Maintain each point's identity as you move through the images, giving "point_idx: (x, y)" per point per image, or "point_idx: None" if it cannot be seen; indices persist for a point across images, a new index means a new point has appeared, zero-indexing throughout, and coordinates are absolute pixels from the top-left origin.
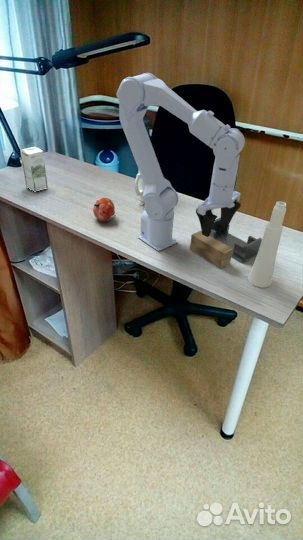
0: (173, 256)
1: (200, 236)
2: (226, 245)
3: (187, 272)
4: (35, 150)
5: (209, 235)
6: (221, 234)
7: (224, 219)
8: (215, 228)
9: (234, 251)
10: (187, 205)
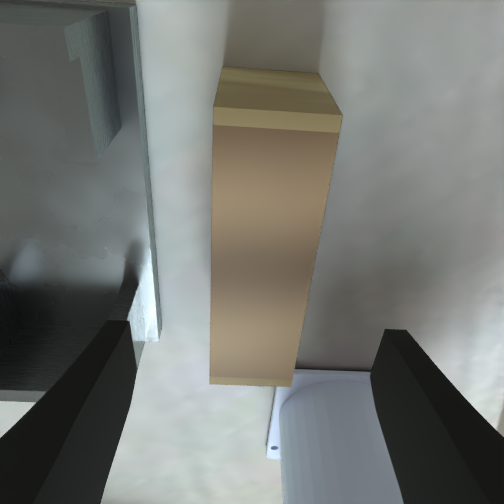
0: (396, 317)
1: (266, 351)
2: (213, 181)
3: (490, 194)
4: None
5: (389, 335)
6: (32, 295)
7: (109, 415)
8: (45, 346)
9: (114, 123)
10: None
